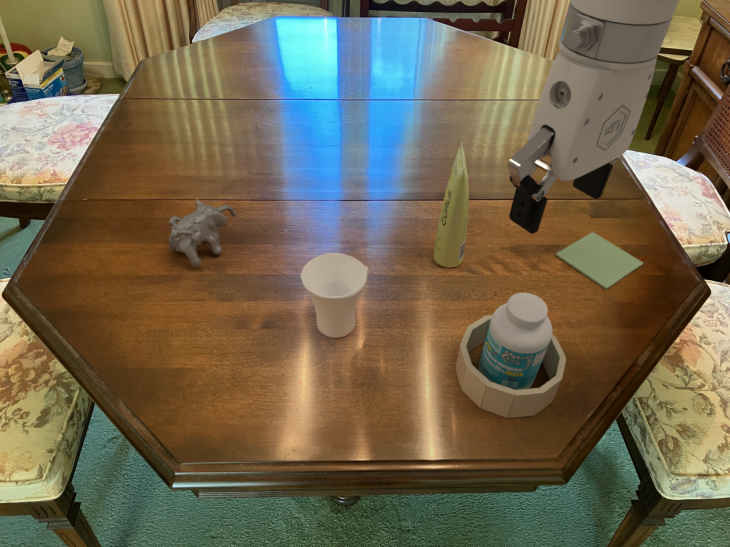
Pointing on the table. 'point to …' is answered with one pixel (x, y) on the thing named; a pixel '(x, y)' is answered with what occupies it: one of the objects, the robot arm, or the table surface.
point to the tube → (453, 216)
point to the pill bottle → (516, 342)
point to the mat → (599, 260)
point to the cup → (334, 291)
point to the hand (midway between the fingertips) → (555, 208)
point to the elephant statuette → (198, 230)
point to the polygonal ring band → (500, 396)
